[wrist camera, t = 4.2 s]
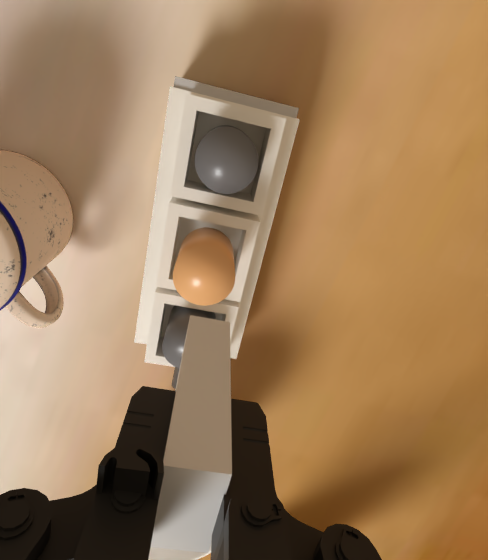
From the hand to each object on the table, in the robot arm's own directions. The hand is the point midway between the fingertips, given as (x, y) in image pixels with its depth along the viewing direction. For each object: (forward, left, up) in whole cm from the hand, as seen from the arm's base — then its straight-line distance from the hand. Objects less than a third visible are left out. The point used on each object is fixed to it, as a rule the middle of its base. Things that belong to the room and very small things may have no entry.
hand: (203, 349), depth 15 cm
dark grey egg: (0, -6, -13) cm, 14 cm away
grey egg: (0, +6, -13) cm, 14 cm away
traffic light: (0, -2, -17) cm, 17 cm away
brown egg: (0, 0, -11) cm, 11 cm away
